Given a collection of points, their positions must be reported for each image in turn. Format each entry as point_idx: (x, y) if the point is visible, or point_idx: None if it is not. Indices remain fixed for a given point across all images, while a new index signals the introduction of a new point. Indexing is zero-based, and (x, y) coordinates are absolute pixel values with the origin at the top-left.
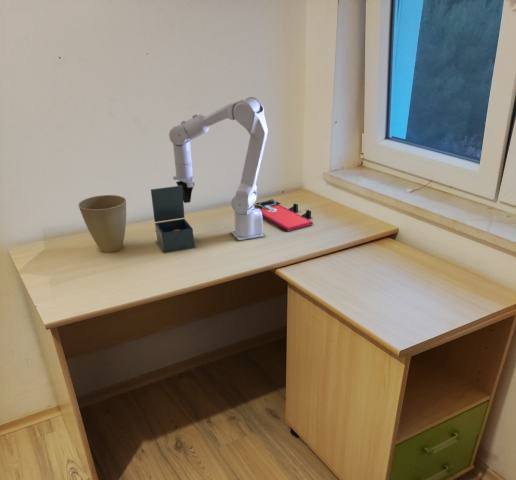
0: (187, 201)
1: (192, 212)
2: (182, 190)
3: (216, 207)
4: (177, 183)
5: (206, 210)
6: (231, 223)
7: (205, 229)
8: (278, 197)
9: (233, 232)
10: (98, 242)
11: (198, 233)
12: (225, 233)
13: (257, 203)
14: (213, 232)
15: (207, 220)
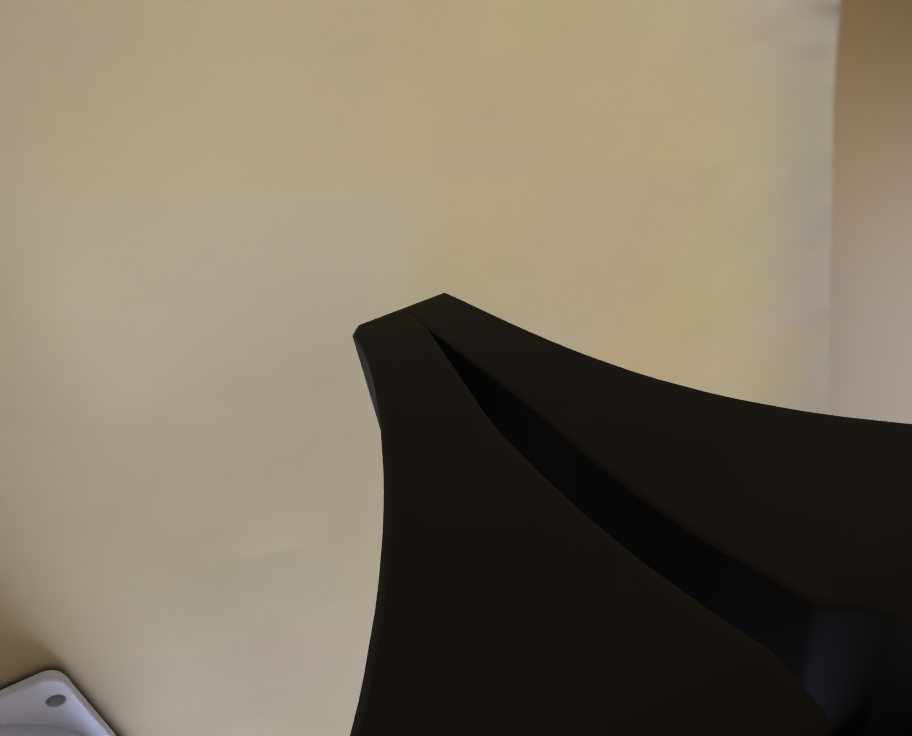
0: (375, 410)
1: (803, 166)
2: (376, 643)
3: (810, 395)
4: (880, 621)
5: (786, 314)
6: (366, 594)
7: (205, 373)
8: None
9: (21, 702)
10: None
11: (36, 298)
12: (44, 609)
13: None
14: (82, 482)
15: None
